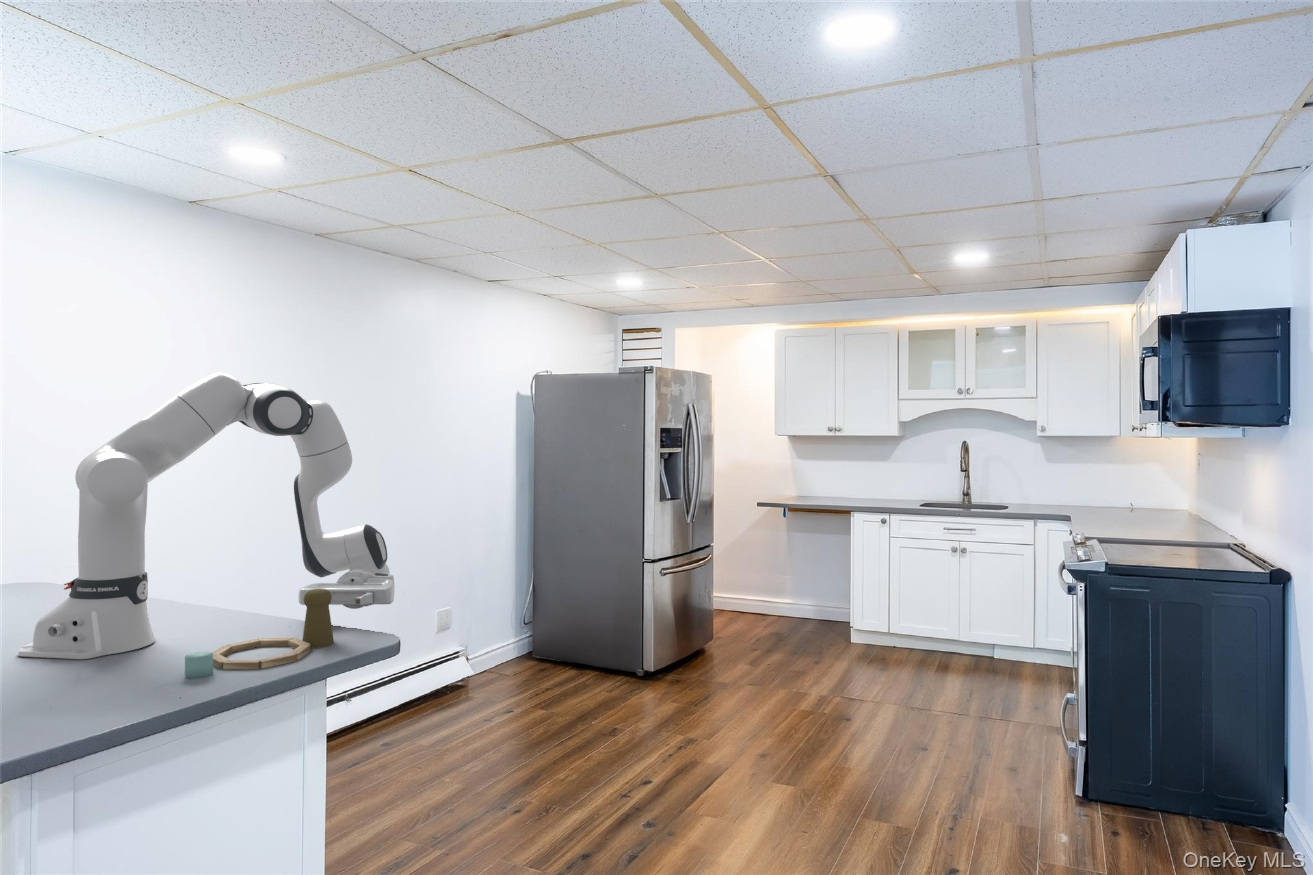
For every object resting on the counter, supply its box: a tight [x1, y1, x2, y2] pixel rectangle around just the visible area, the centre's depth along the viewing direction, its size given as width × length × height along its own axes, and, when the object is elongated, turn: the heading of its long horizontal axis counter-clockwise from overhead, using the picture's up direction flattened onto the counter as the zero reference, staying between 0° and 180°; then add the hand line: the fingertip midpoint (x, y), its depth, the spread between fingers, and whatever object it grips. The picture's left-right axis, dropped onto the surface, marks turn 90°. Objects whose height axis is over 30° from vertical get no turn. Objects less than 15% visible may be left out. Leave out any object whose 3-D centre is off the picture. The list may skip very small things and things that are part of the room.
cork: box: [301, 589, 335, 649], centre depth 165 cm, size 6×6×11 cm
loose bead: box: [184, 651, 214, 679], centre depth 145 cm, size 4×4×4 cm
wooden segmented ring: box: [211, 637, 312, 670], centre depth 156 cm, size 17×17×1 cm
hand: (336, 601), depth 176 cm, fingers open, 8 cm apart
